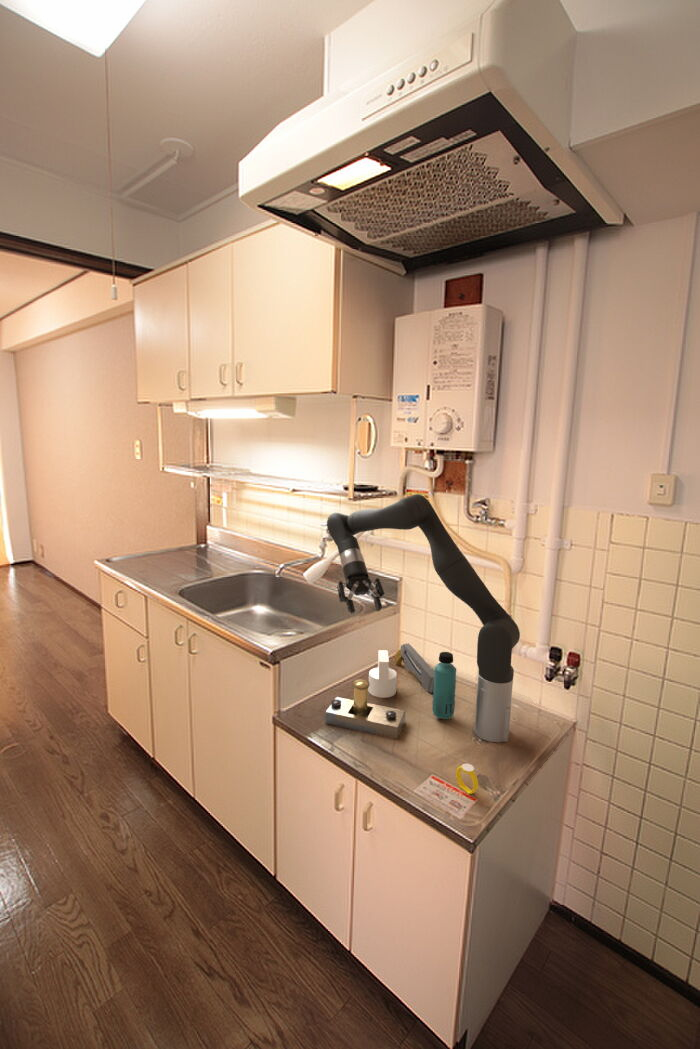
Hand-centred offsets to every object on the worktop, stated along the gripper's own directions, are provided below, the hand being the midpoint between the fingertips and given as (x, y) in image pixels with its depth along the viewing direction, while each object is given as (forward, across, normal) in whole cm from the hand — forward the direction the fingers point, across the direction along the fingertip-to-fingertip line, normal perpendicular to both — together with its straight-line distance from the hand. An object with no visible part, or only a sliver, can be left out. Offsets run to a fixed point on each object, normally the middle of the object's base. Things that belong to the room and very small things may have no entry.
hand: (366, 611), depth 153 cm
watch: (+53, +7, -12) cm, 55 cm away
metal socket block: (+29, -5, +11) cm, 32 cm away
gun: (+16, +22, +26) cm, 37 cm away
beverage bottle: (+33, +18, +8) cm, 38 cm away
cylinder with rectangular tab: (+18, +8, +22) cm, 30 cm away
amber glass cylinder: (+29, -6, +12) cm, 32 cm away
